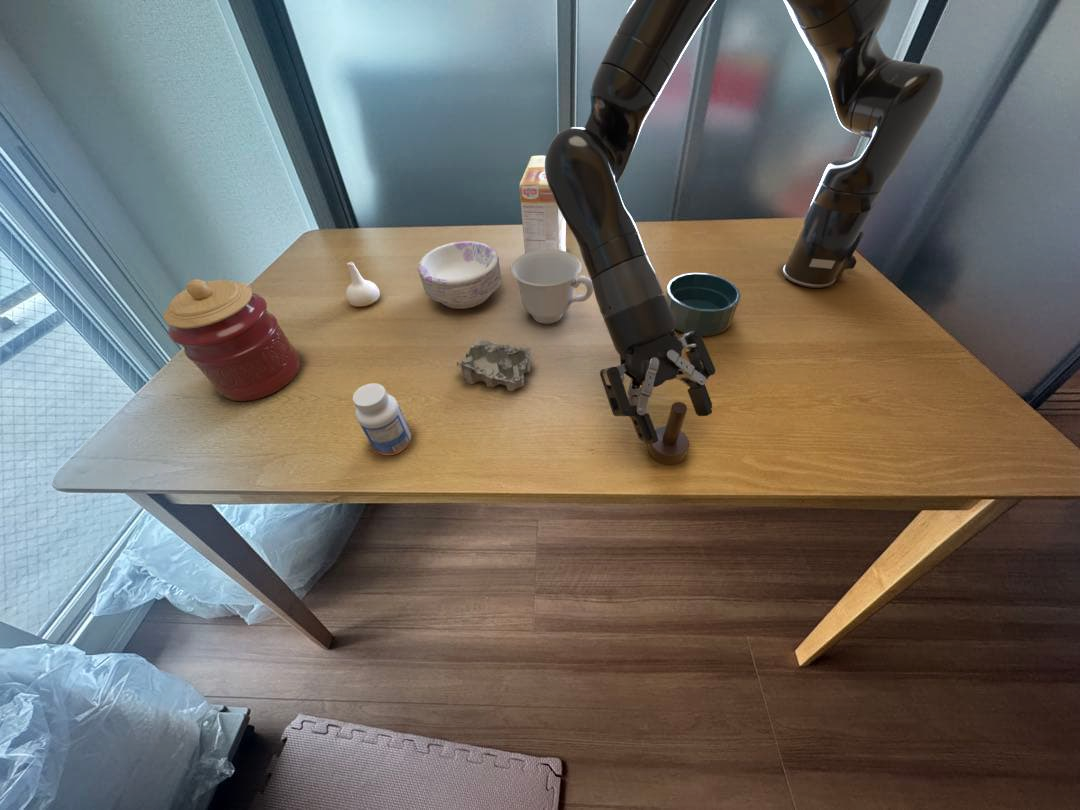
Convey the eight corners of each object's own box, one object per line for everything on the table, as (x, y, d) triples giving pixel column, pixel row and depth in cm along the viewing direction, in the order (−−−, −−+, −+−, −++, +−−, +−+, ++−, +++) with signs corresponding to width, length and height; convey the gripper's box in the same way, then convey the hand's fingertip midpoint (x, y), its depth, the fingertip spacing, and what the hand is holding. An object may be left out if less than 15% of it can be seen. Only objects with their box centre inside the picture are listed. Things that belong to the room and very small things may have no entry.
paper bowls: (412, 310, 81) (400, 272, 75) (451, 271, 90) (444, 235, 85) (481, 325, 77) (474, 287, 71) (515, 283, 86) (512, 246, 80)
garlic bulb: (357, 313, 81) (341, 276, 75) (344, 301, 84) (328, 264, 78) (387, 301, 84) (373, 264, 78) (373, 288, 87) (359, 252, 81)
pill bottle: (377, 428, 61) (352, 380, 54) (414, 424, 61) (394, 376, 54) (369, 458, 57) (342, 411, 50) (409, 455, 57) (387, 407, 50)
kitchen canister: (222, 363, 72) (148, 270, 59) (301, 342, 76) (246, 249, 63) (215, 413, 64) (126, 319, 51) (303, 387, 67) (241, 292, 54)
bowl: (712, 295, 80) (720, 269, 76) (743, 332, 72) (753, 305, 68) (652, 303, 79) (657, 277, 75) (676, 342, 71) (683, 315, 67)
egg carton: (457, 382, 67) (452, 363, 64) (477, 353, 71) (473, 334, 68) (519, 395, 64) (517, 376, 61) (535, 364, 69) (534, 344, 66)
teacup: (573, 347, 71) (574, 297, 64) (502, 322, 77) (496, 273, 70) (604, 311, 78) (609, 262, 71) (537, 290, 84) (535, 243, 76)
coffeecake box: (536, 250, 95) (530, 155, 81) (567, 251, 94) (567, 154, 80) (525, 285, 85) (517, 184, 71) (560, 287, 84) (559, 184, 70)
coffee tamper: (677, 432, 58) (690, 389, 52) (692, 461, 55) (708, 419, 48) (642, 438, 57) (652, 395, 51) (655, 467, 54) (667, 426, 48)
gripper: (597, 316, 44) (651, 455, 46) (698, 277, 49) (744, 405, 50) (570, 330, 51) (617, 450, 53) (660, 295, 56) (701, 407, 57)
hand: (679, 428), depth 51 cm, fingers open, 8 cm apart
